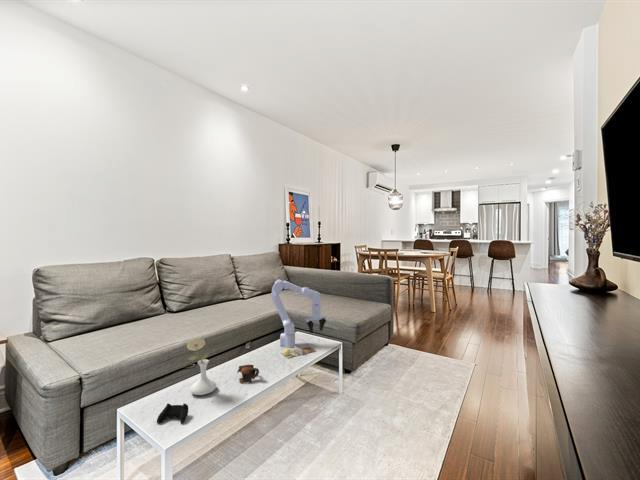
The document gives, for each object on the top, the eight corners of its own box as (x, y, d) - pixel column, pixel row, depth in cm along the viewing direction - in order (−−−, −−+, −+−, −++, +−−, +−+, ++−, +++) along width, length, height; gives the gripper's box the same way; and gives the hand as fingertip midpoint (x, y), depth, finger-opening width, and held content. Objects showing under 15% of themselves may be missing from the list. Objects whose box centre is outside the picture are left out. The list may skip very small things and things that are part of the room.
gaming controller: (187, 425, 119) (192, 405, 124) (183, 422, 115) (189, 402, 120) (159, 425, 118) (165, 405, 123) (155, 422, 115) (161, 402, 120)
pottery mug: (233, 384, 148) (233, 366, 152) (243, 384, 156) (243, 367, 160) (255, 380, 145) (255, 362, 149) (264, 381, 153) (264, 363, 157)
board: (287, 360, 175) (287, 354, 175) (280, 355, 182) (280, 349, 182) (316, 353, 186) (316, 347, 186) (308, 348, 194) (308, 343, 194)
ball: (287, 358, 179) (282, 355, 177) (287, 352, 182) (282, 349, 181) (292, 355, 178) (287, 351, 176) (292, 349, 181) (287, 346, 180)
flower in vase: (218, 384, 147) (218, 332, 146) (214, 396, 135) (214, 341, 135) (189, 386, 144) (189, 334, 144) (183, 399, 133) (183, 342, 133)
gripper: (310, 313, 189) (310, 335, 189) (329, 310, 197) (328, 331, 197) (304, 311, 195) (304, 332, 195) (322, 308, 203) (322, 328, 203)
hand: (316, 331), depth 197 cm, fingers open, 7 cm apart
